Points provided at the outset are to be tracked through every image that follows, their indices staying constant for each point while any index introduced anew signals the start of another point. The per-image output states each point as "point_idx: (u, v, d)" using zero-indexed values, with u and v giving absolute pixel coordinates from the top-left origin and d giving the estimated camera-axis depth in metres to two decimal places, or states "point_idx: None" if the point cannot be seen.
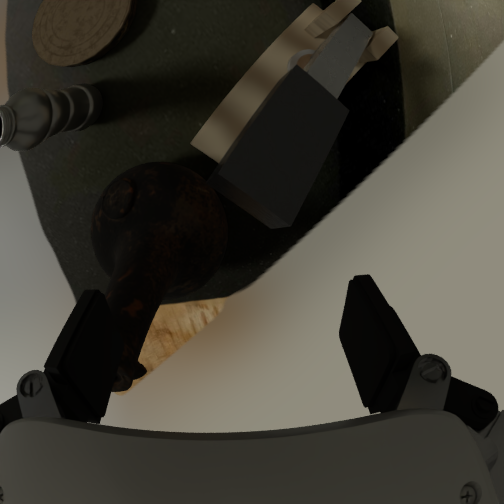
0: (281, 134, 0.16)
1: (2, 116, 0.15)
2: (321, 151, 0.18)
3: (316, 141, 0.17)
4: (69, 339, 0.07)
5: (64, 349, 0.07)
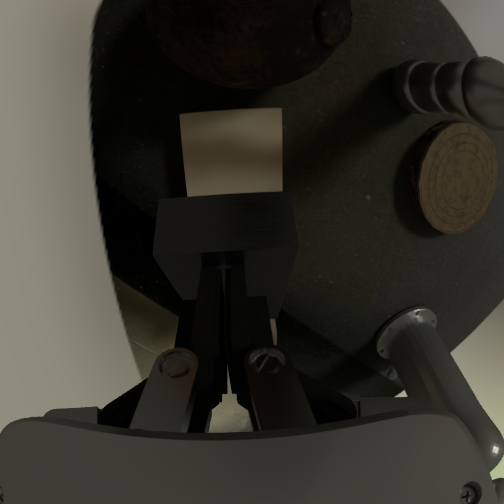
0: (247, 292, 0.14)
1: None
2: None
3: None
4: (210, 312, 0.09)
5: (210, 322, 0.08)
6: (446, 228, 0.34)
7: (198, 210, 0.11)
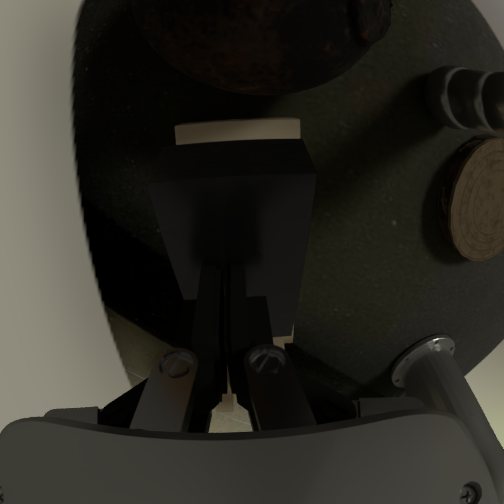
0: (257, 272, 0.12)
1: None
2: (191, 290, 0.12)
3: None
4: (210, 312, 0.09)
5: (210, 322, 0.08)
6: (474, 255, 0.29)
7: (203, 150, 0.09)
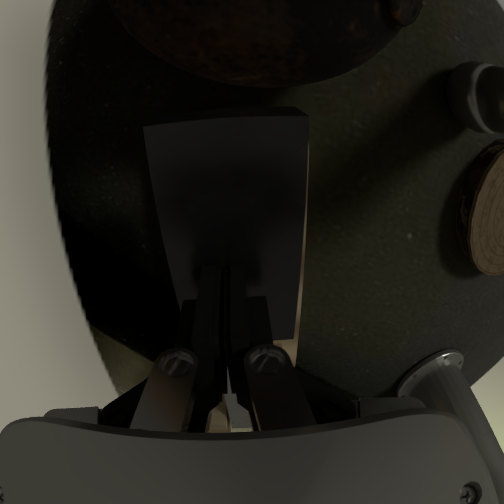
0: (253, 241, 0.11)
1: None
2: (180, 267, 0.11)
3: (198, 273, 0.11)
4: (210, 312, 0.09)
5: (210, 322, 0.08)
6: (491, 269, 0.26)
7: (200, 112, 0.09)
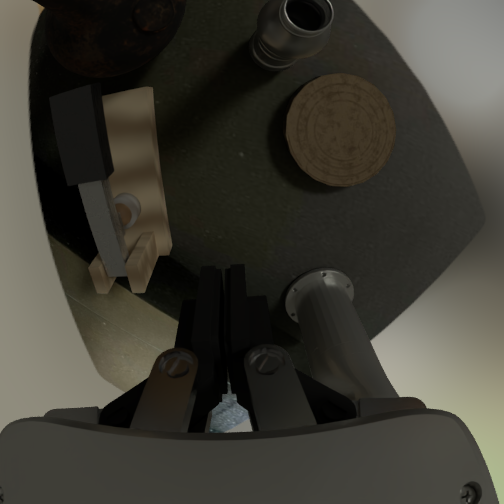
0: (80, 130, 0.23)
1: (297, 28, 0.15)
2: (61, 144, 0.24)
3: (66, 146, 0.24)
4: (210, 312, 0.09)
5: (210, 322, 0.08)
6: (331, 180, 0.39)
7: None
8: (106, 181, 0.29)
